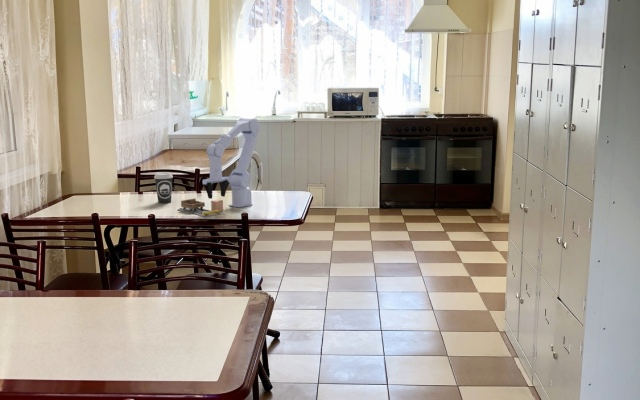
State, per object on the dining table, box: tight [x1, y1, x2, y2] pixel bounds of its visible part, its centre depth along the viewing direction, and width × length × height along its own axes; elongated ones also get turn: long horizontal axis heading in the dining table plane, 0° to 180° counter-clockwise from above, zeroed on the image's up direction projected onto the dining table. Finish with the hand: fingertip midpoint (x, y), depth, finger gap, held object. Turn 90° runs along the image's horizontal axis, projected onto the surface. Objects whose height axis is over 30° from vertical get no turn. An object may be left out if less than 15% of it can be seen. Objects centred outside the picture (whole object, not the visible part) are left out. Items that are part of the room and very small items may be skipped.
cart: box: [180, 197, 206, 211], centre depth 328 cm, size 8×8×4 cm
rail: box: [177, 207, 223, 218], centre depth 325 cm, size 9×23×2 cm, turn 46°
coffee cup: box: [153, 171, 174, 204], centre depth 349 cm, size 10×10×15 cm
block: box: [210, 199, 224, 212], centre depth 328 cm, size 4×4×5 cm
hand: (216, 197), depth 327 cm, fingers open, 7 cm apart
